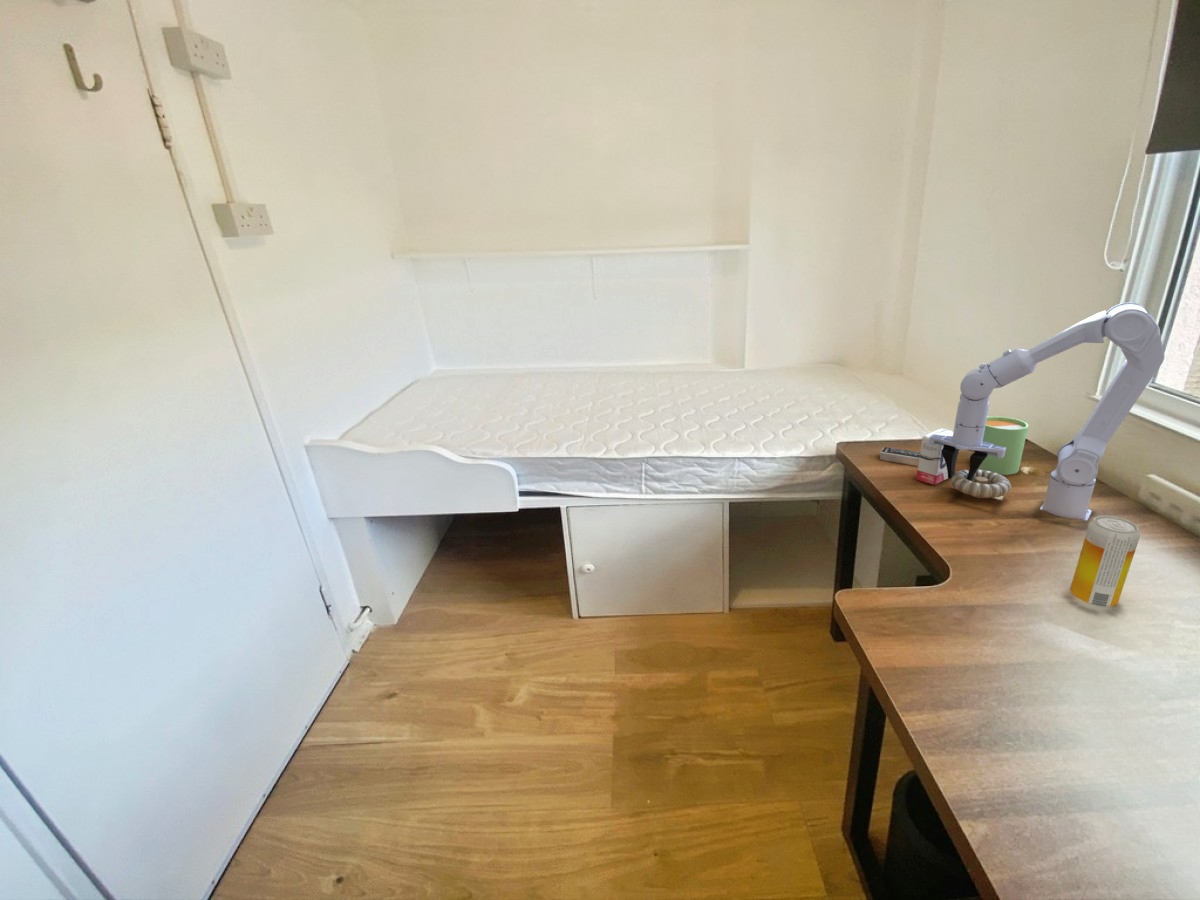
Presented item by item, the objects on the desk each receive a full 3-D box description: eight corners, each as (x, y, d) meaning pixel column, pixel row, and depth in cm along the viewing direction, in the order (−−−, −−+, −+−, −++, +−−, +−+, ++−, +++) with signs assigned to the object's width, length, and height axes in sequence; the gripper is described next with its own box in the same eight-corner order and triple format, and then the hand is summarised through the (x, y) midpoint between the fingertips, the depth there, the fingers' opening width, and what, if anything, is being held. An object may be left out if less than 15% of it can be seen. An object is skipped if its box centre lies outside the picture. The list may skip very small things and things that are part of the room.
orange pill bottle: (1105, 593, 94) (1130, 516, 88) (1123, 616, 89) (1150, 535, 83) (1062, 588, 96) (1083, 512, 90) (1077, 610, 91) (1100, 531, 85)
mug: (1029, 473, 137) (1040, 428, 133) (986, 476, 138) (995, 430, 133) (996, 454, 149) (1005, 412, 144) (957, 456, 149) (964, 414, 145)
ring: (958, 474, 133) (960, 463, 131) (1015, 486, 125) (1017, 474, 124) (943, 490, 126) (945, 479, 125) (1001, 504, 118) (1004, 492, 117)
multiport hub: (924, 467, 145) (925, 459, 144) (879, 459, 151) (880, 451, 150) (927, 461, 148) (928, 453, 147) (883, 454, 154) (883, 446, 154)
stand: (962, 490, 132) (966, 468, 129) (1002, 499, 126) (1007, 477, 124) (951, 502, 127) (955, 480, 125) (992, 512, 121) (997, 489, 119)
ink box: (935, 485, 135) (942, 441, 130) (914, 479, 139) (921, 435, 134) (953, 476, 139) (961, 432, 134) (933, 470, 143) (940, 427, 138)
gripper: (928, 422, 125) (919, 476, 130) (1004, 435, 115) (991, 493, 120) (938, 414, 129) (930, 466, 134) (1013, 425, 119) (1000, 482, 124)
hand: (959, 478), depth 128 cm, fingers closed on ring, 3 cm apart
